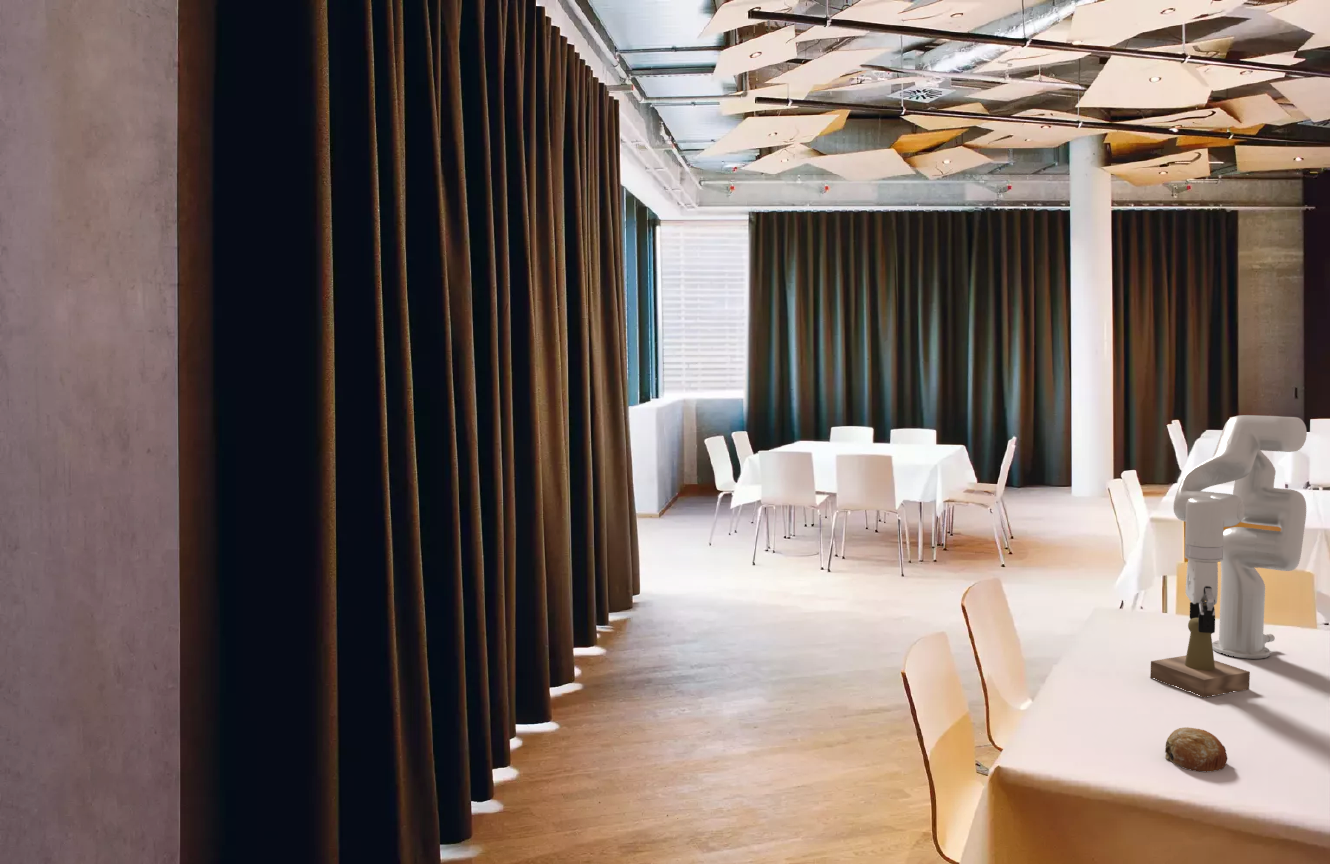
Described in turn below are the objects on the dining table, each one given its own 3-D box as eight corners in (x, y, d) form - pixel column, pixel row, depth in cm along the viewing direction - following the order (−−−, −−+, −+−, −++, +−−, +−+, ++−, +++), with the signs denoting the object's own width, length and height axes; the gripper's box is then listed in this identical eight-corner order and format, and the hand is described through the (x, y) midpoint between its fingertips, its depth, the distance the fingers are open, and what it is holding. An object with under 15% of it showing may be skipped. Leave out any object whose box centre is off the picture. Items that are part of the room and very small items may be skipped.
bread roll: (1162, 769, 182) (1146, 733, 181) (1209, 744, 182) (1193, 708, 181) (1195, 792, 172) (1178, 754, 171) (1244, 766, 172) (1228, 728, 172)
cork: (1207, 662, 221) (1209, 615, 220) (1219, 670, 215) (1221, 622, 214) (1180, 661, 221) (1181, 615, 220) (1191, 670, 215) (1193, 622, 215)
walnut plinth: (1194, 670, 227) (1195, 653, 227) (1249, 689, 214) (1249, 671, 214) (1150, 677, 222) (1150, 661, 222) (1203, 697, 209) (1204, 679, 209)
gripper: (1178, 543, 225) (1176, 614, 227) (1192, 560, 209) (1190, 636, 211) (1214, 544, 223) (1212, 616, 225) (1231, 561, 207) (1229, 638, 208)
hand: (1201, 625), depth 218 cm, fingers open, 9 cm apart
